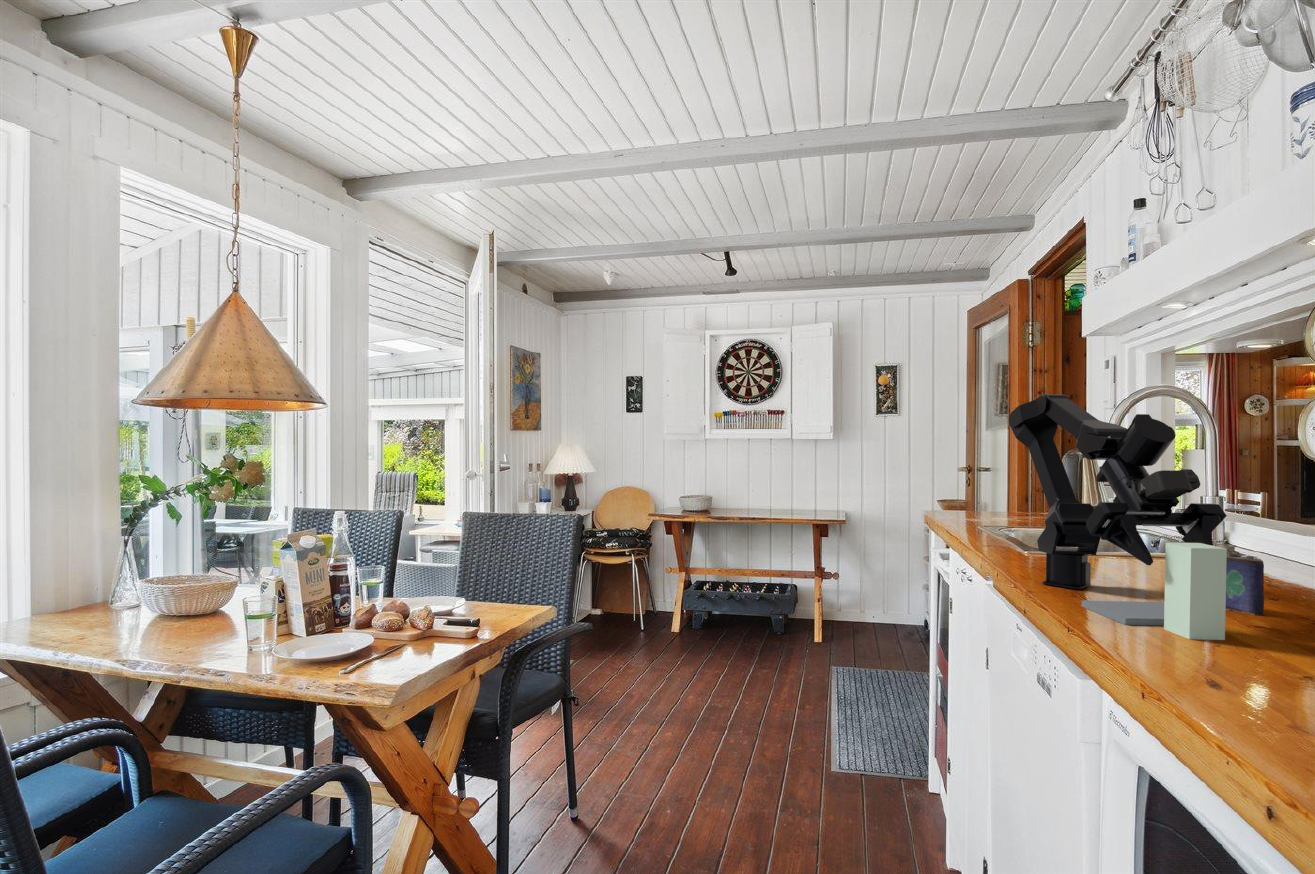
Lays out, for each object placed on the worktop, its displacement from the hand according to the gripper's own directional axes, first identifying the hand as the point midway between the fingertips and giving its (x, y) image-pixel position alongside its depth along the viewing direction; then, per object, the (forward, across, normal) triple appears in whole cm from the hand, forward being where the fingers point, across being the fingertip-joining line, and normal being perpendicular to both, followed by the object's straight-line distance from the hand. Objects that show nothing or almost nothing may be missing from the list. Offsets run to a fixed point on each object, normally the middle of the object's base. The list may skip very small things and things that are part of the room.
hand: (1181, 564), depth 103 cm
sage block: (+9, 0, +5) cm, 10 cm away
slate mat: (+2, 0, +12) cm, 12 cm away
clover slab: (-2, +18, +16) cm, 24 cm away
